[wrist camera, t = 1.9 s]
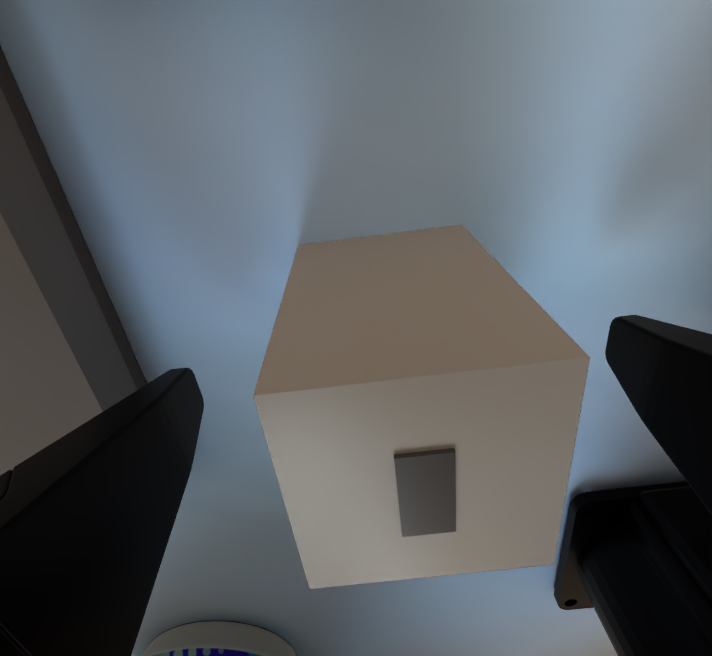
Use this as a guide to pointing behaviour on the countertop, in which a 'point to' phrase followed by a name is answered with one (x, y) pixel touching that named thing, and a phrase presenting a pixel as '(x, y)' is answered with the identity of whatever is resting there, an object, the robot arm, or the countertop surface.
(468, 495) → the block
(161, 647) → the beer can
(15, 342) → the outlet plate
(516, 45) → the countertop surface
